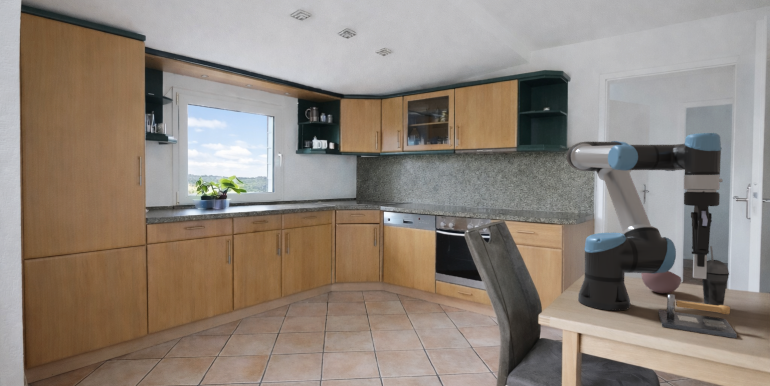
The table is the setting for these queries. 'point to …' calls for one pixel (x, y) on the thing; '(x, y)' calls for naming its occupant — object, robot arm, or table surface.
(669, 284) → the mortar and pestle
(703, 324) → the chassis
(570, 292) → the table surface
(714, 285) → the beverage cup
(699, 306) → the wooden lever handle
